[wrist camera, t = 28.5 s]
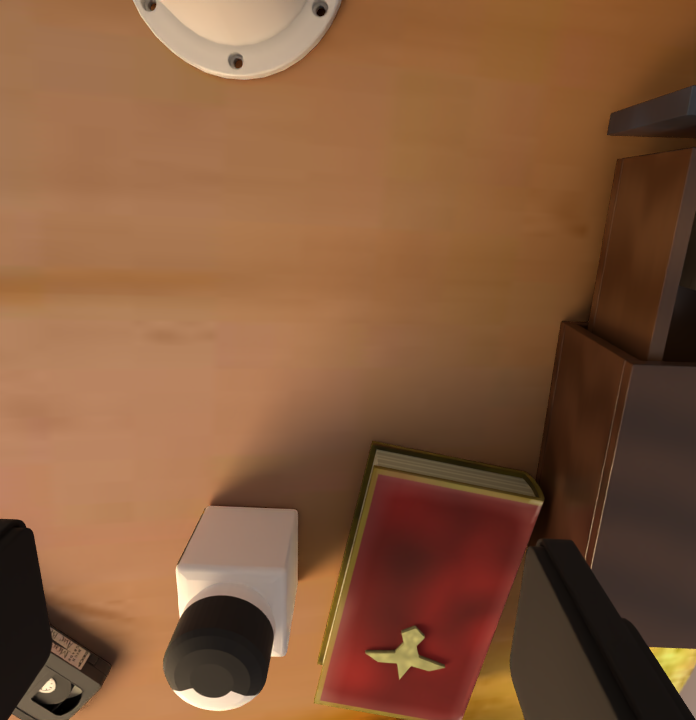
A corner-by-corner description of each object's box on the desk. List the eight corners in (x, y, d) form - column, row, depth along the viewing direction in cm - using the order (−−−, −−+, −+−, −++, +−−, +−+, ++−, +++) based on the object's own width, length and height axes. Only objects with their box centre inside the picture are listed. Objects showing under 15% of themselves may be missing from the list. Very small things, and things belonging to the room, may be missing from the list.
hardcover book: (530, 472, 38) (550, 504, 34) (454, 684, 44) (464, 733, 40) (372, 441, 38) (374, 469, 34) (317, 660, 44) (313, 706, 40)
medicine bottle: (205, 503, 40) (143, 627, 28) (298, 507, 39) (274, 633, 28) (209, 580, 42) (153, 725, 30) (298, 584, 42) (275, 730, 30)
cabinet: (560, 320, 35) (633, 364, 26) (748, 327, 35) (889, 373, 26) (525, 542, 40) (575, 644, 31) (688, 549, 40) (787, 653, 31)
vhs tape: (113, 665, 45) (102, 686, 43) (63, 715, 46) (50, 737, 44) (-31, 571, 42) (-50, 589, 40) (-79, 627, 44) (-99, 647, 42)
